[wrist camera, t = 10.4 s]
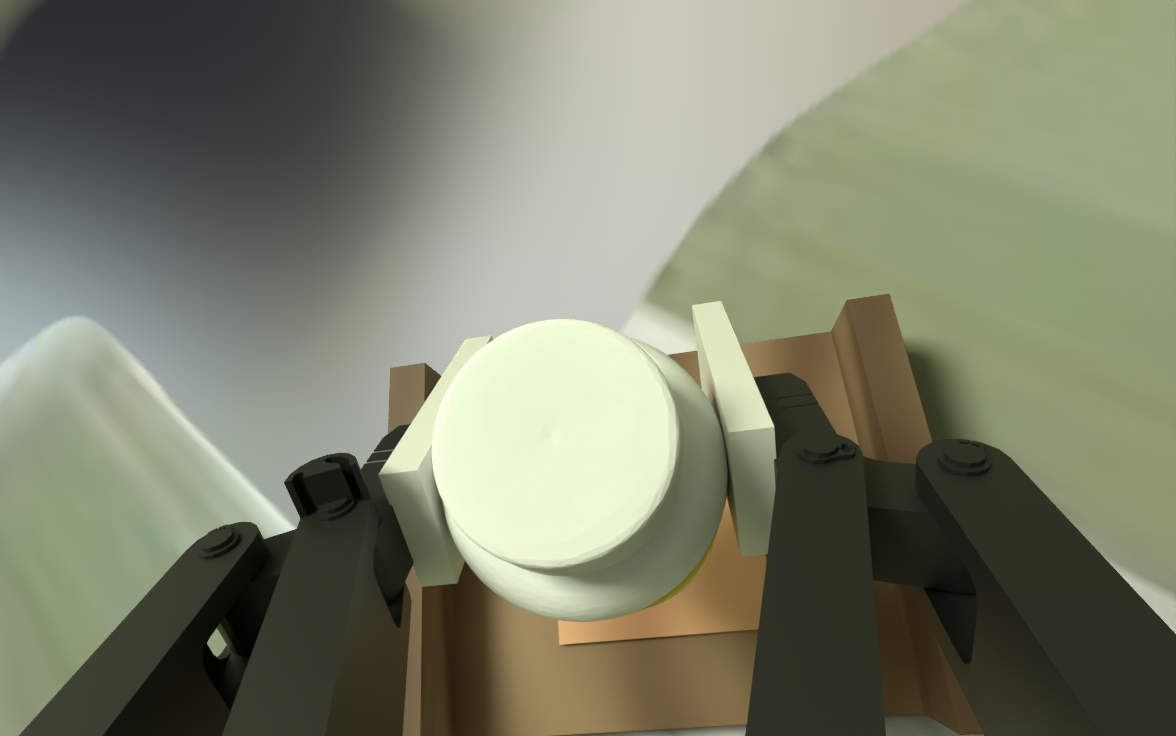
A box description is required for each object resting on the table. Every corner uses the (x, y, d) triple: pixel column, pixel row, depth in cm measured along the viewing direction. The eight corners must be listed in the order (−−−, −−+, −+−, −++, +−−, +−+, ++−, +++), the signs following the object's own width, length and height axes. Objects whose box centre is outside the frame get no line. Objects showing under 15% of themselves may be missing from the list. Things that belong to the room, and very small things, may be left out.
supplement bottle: (753, 551, 18) (819, 508, 8) (588, 645, 18) (460, 713, 8) (657, 394, 20) (621, 216, 10) (509, 478, 20) (334, 376, 10)
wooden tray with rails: (862, 335, 26) (889, 293, 22) (961, 705, 21) (1017, 732, 17) (431, 396, 28) (390, 368, 25) (428, 737, 24) (377, 765, 20)
